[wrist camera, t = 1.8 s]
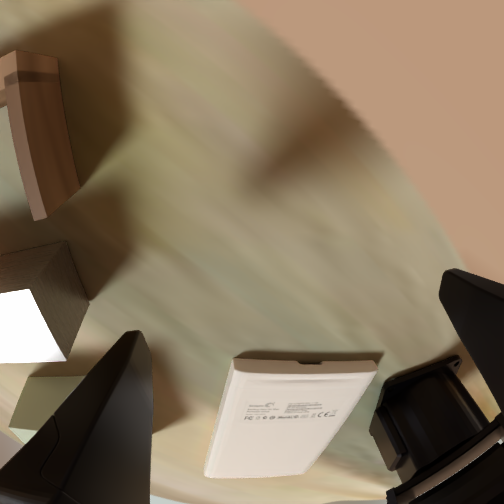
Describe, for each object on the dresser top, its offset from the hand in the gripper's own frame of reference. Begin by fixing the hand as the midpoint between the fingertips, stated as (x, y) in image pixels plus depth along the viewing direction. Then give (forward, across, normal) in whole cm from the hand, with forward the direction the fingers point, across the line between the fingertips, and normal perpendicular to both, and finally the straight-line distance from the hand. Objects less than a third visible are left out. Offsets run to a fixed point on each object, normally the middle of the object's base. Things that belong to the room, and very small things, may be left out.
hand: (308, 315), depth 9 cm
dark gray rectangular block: (+5, +12, 0) cm, 12 cm away
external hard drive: (+5, +1, +13) cm, 14 cm away
